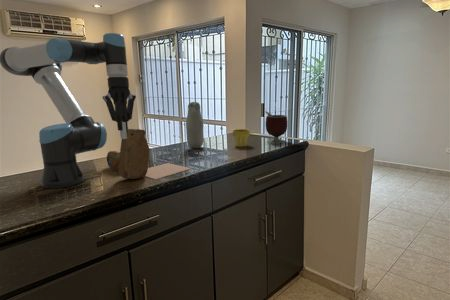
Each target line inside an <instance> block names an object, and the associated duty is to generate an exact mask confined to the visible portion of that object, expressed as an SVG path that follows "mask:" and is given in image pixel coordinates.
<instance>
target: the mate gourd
mask: <svg viewBox="0 0 450 300" xmlns="http://www.w3.org/2000/svg"><path fill="white" fill-rule="evenodd" d="M264 113H266V114H267V115H266V118H265V130H266V132H267V134H268V135H270V136H271V137H273V139H268V140H266V143H267V144H270V143H272V145H275V144H274V143H283V144H286V143H287V141H286V140H285V139H280V137H281V136H283V135H285V134H286V132H287V129H288V116H287V115H285V114H272V113H270V112H268V111H266V110H264ZM285 142H286V143H285Z"/></svg>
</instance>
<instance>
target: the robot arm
mask: <svg viewBox="0 0 450 300" xmlns="http://www.w3.org/2000/svg"><path fill="white" fill-rule="evenodd" d="M64 63H81V64H82V63H83V64H84V63H85V64H88V65H99V64H103V63H104V64H105V68H106V76H107V77H108V78H106V79H107V87H108V91H107V94H106V95H103V96H102V99H103V101H104V102H105V103H106V107H107V111H108V113H109V116H110V118H111V121H113V122H116V124H117V125H116V126H117V130H118V131H119V136H120V139H121V140H122V139H127V134H126V130H128V129H129V126H128V122H129V121H131V120H132V119H133V112H134V111H133V110H134V105H135V100H136V98H137V96H136V95H135V94H132V93H131V90H130V85H129V84H130V83H129V78H128V76H129V74H128V64H127V51H126V42H125V37H124V35H123V34H121V33H115V32H114V33H113V32H109V33H108V32H106V33H105V34H104V35H102V41H100V42H89V41H83V40H74V39H67V38H62V37H57V38H56V37H52V38H49V40H48V41H47V42H45V43H39V44H35V45H31V46H25V47H19V46H12V47H8V48H7V47H6V48H5V49H3V50H2V51H1V52H0V65H1V67H2V68H3V69H4V70H5V71H6V72H8V73H10V74H12V75H15V76H22V77H23V76H24V77H31V78H32V80H33V81H34V82H35V83H36V84H38V85H41V86H42V88H43V89H44V90H45V92H46V94H47V95H48V97H49V98H50V101H52V103H53V105H54V106H55V108H56V109H57V111H58V112H59V114H60V116H61V117H62V119H63V121H64V123H58V124H52V125H47V126H45V127H43V128H41V129H40V130H39V132H38V133H39V134H38V135H39V143H40V149H41V150H40V151H41V155H42V156H41V157H42V164H43V170H42V174H41V180H40V184H41V187H42V188H44V189H48V190H49V189H61V188H62V189H63V188H64V189H65V188H68V187H69V188H70V187H72V186H76V185H79V184H80V183H83V182H84V180H85V177H84V174H83V171H82V170H81V168H80V165H79V164H78V161H77V155H78V154H81V153H82V154H83V153H87V152H92V151H93V152H94V151H97V150H99V149H102V148H103V147H104V146H105V145H106V142H107V137H108V132H107V128H106V127H105V125H104V124H103V123H101V122H98V121H96V122H95V120H94V118H93V117H92V116H90V115H87V114H86V113H85V112H84V109H82V107H81V106H80V104H79V103H78V101H77V99H76V98H75V97H74V95H73V93H72V91H70V89H69V87H68V86H67V85H66V83H65V81H64V80H63V78H62V76H61V75H62V71H63V70H62V69H63V65H62V64H64ZM112 100H113V101H112Z"/></svg>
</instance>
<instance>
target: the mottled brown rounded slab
mask: <svg viewBox="0 0 450 300" xmlns="http://www.w3.org/2000/svg"><path fill="white" fill-rule="evenodd" d="M119 158H120V151H117V150H109V151H108V152H107V155H106V162H107V166H108V168H110V169H111V170H114V171H115V170H116V171H118V172H119Z"/></svg>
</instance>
